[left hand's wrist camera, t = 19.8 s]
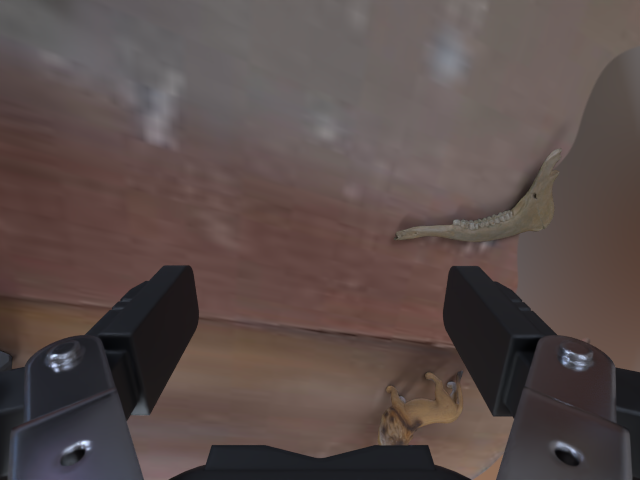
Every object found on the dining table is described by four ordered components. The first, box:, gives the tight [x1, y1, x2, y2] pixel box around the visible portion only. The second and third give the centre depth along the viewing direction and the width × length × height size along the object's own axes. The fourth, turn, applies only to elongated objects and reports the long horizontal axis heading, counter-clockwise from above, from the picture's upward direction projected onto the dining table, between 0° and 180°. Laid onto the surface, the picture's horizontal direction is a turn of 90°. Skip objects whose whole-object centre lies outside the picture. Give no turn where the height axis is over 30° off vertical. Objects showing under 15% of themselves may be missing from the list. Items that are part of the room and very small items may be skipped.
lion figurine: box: [378, 371, 463, 445], centre depth 49 cm, size 15×5×9 cm, turn 121°
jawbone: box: [394, 148, 562, 242], centre depth 43 cm, size 9×20×2 cm, turn 122°
